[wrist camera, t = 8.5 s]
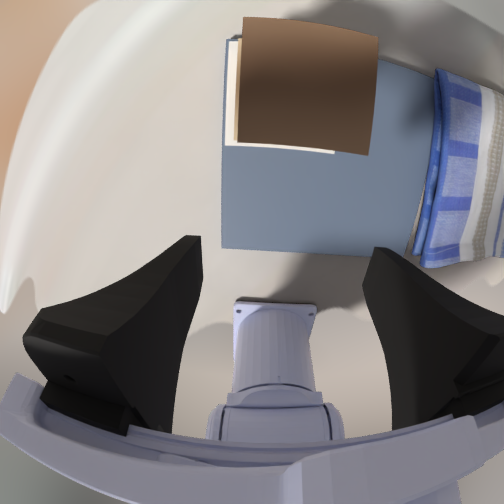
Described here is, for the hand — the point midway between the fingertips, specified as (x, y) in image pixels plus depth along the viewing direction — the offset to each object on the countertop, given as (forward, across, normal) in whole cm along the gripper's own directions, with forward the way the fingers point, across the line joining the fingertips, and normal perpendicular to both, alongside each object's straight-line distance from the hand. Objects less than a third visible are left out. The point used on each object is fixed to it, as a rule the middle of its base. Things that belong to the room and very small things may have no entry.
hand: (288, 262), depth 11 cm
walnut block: (+5, 0, -7) cm, 8 cm away
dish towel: (+10, -23, -4) cm, 26 cm away
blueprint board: (+10, -4, -3) cm, 11 cm away
